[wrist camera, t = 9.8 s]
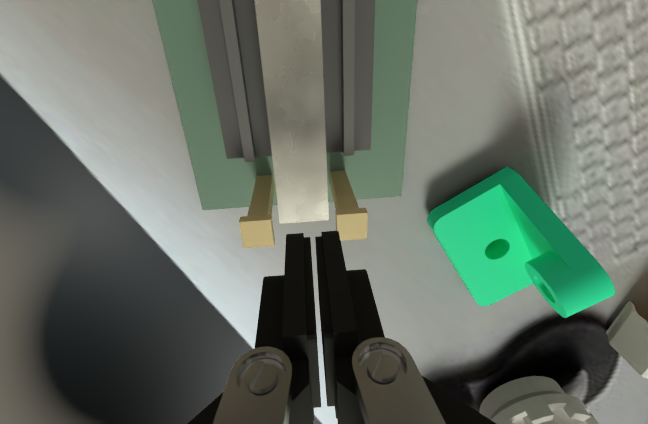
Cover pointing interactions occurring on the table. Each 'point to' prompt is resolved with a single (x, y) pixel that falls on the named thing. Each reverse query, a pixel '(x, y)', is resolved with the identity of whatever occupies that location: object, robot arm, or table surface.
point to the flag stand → (534, 404)
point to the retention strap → (295, 105)
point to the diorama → (631, 338)
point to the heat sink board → (241, 173)
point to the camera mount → (516, 246)
